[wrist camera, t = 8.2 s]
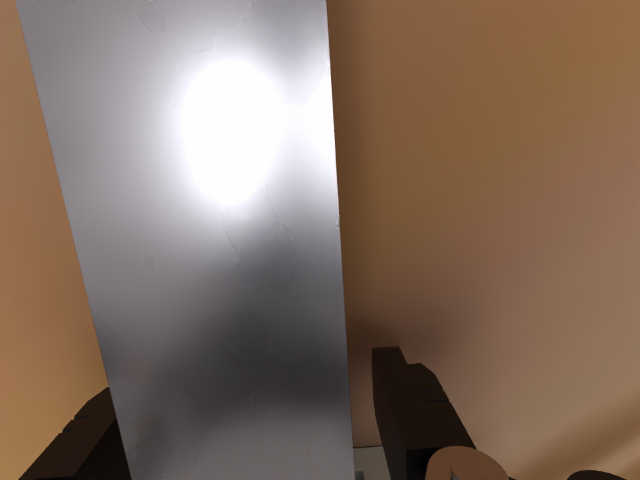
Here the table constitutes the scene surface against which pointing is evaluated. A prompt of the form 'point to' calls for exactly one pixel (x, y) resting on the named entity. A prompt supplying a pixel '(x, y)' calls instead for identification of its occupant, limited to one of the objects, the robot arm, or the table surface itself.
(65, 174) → the steel tube
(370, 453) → the socket block
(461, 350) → the table surface
